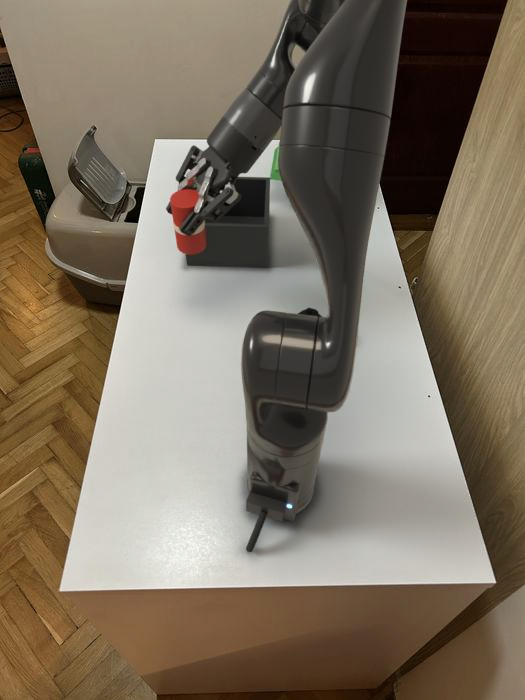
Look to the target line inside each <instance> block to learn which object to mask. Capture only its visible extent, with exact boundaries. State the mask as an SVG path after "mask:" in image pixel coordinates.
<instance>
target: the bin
mask: <svg viewBox="0 0 525 700" xmlns="http://www.w3.org/2000/svg"><path fill="white" fill-rule="evenodd" d="M192 186H193V185H191V187H192ZM234 187H235V190H236V192H237V193H239V194H240V195H241V200H240V201H239V202H238V203H237V204H235V205H234V206H233V207H232V208H231V209H230V210H229V211H228V212H227V213H225V214H224V215H223V216H222V217H221V218H220V219H219V220H218V221H217V222H213V221H211V220H209V219H205V234H206V248H205V249H204V250H203V251H202V252H200V253H197V254H192V255H190V254H185V261H186V266H187V267H189V266H190V267H191V266H192V267H219V268H220V267H221V268H222V267H223V268H224V267H225V268H256V269H257V268H259V269H260V268H261V269H267V268H268V261H269V260H268V259H269V233H270V206H271V205H270V204H271V203H270V202H271V201H270V200H271V179H270V176H269V177H264V176H263V177H262V176H238V177H237V180H236V183H235V185H234ZM197 192H199V191H197ZM208 195H209V196H211V197H212V198H213V197H214V195H211V194H209V193H208ZM207 205H208V201H206V202H205V204H204V206H203V208H205V207H206V206H207ZM217 210H218V209H215V210H214V211H213V212H214V213H215V212H216V211H217Z"/></svg>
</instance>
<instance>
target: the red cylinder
mask: <svg viewBox="0 0 525 700" xmlns="http://www.w3.org/2000/svg"><path fill="white" fill-rule="evenodd" d="M198 193H199V192H197V191H195V190H191V189H183V190H179V191H178V190H177V191H175V192H174V193H172V194H171V195H170V198H169V202H170V203H171V209H172V214H171V215H172V224H173V230H174V235H175V242H176V247H177V250H178V251H179V252H180V253H182V254H184V255H186V254H190V255H192V254H197V253H200V252H202V251H203V250H204V249H205V248H206V234H205V220H204V221H203V222H202V224H201V225H200V226H199V227H198V229H197V230H196V231H195V233H194V234H192V235H191V236H187V235H185V234H183V233H182V232H181V231H180V230H179V227H180V226H181V224H182V223H183V222H184V220H185V219H186V218H187V216H188V215H189V214H190V212H191V211H192V210H193V211H194V208H195V206H196V204H197V201H198V199H199V196H198Z"/></svg>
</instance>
